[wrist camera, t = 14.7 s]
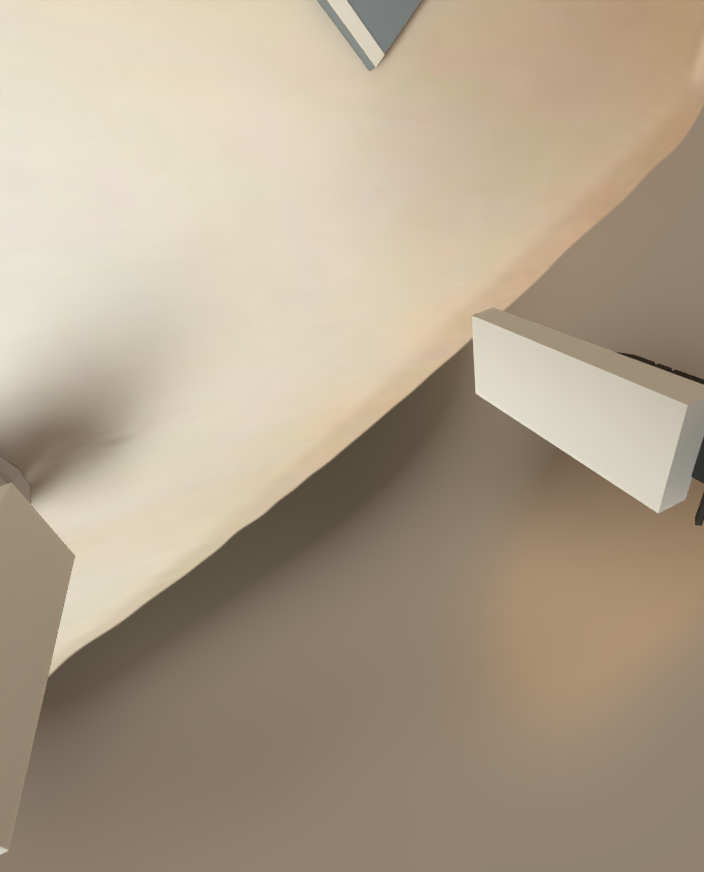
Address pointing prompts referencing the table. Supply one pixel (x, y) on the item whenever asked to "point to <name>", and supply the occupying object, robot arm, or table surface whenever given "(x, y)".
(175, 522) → the table surface
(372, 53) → the slate card
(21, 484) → the french press
